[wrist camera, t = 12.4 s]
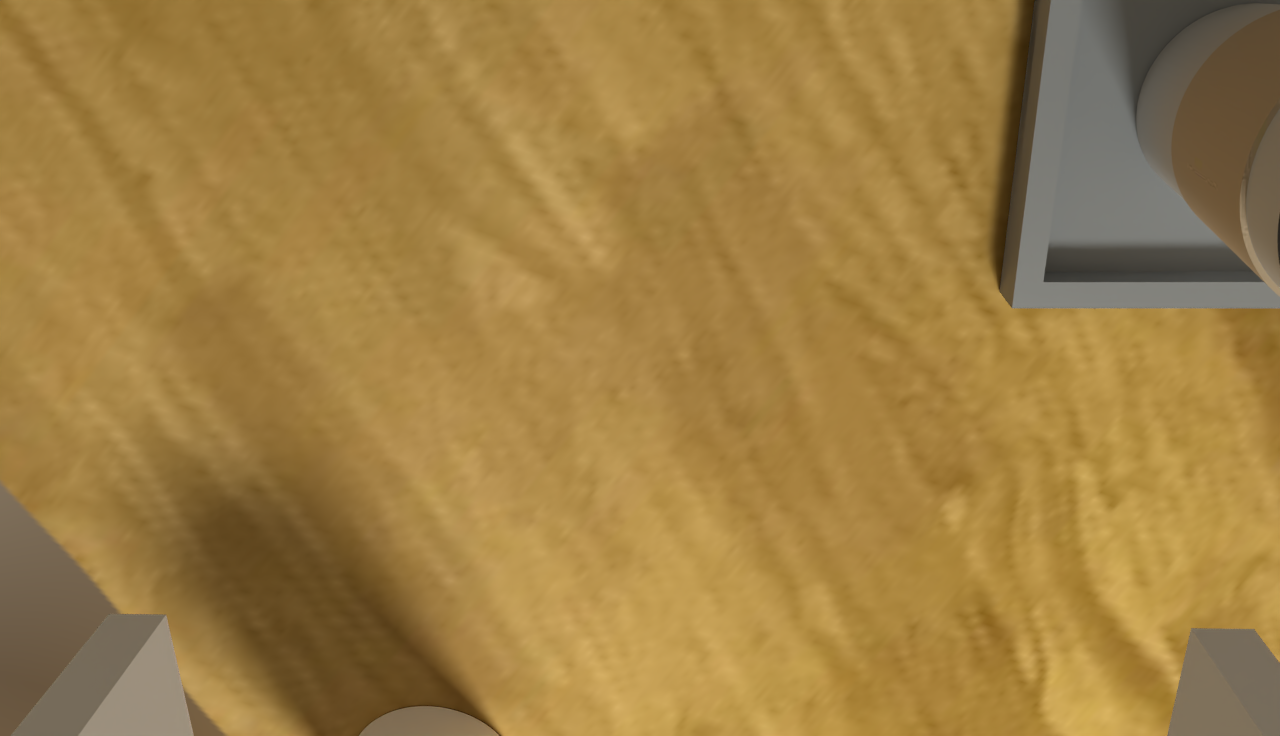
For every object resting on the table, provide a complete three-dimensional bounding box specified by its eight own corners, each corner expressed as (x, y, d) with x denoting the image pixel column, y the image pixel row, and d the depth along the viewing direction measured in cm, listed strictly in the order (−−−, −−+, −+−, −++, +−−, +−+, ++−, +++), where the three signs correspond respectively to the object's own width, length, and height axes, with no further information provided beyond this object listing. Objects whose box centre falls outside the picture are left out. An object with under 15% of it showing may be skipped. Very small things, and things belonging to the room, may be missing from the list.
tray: (1047, -109, 36) (1064, -109, 35) (1486, -117, 36) (1525, -117, 34) (999, 291, 42) (1012, 308, 40) (1378, 291, 41) (1406, 308, 40)
